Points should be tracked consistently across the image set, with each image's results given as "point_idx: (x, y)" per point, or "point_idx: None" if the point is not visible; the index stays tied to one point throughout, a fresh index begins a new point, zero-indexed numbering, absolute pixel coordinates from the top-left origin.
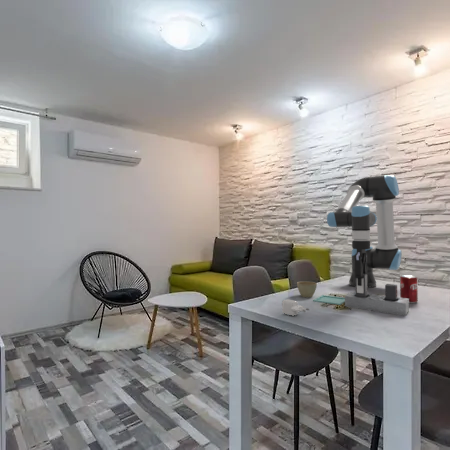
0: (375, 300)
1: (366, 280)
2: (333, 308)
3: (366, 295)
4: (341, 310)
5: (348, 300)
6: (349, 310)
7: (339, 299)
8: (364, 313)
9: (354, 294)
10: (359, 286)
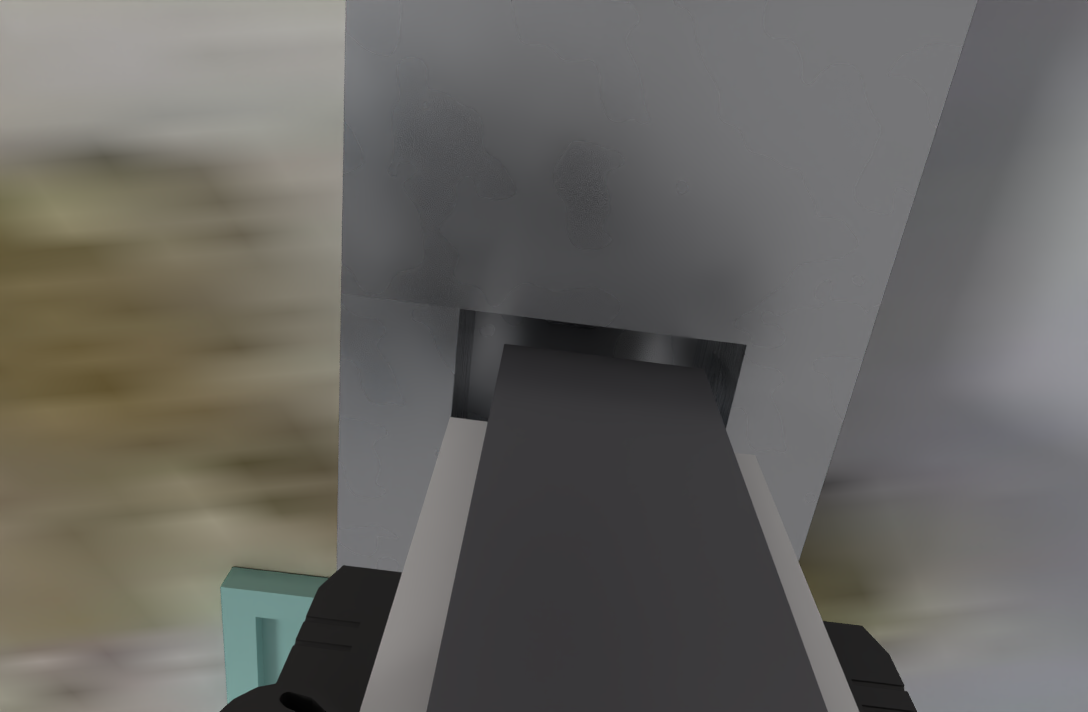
0: (923, 145)
1: (567, 615)
2: None
3: (588, 368)
4: (926, 573)
5: None
6: (892, 485)
7: None
8: (1022, 275)
9: None
10: None
